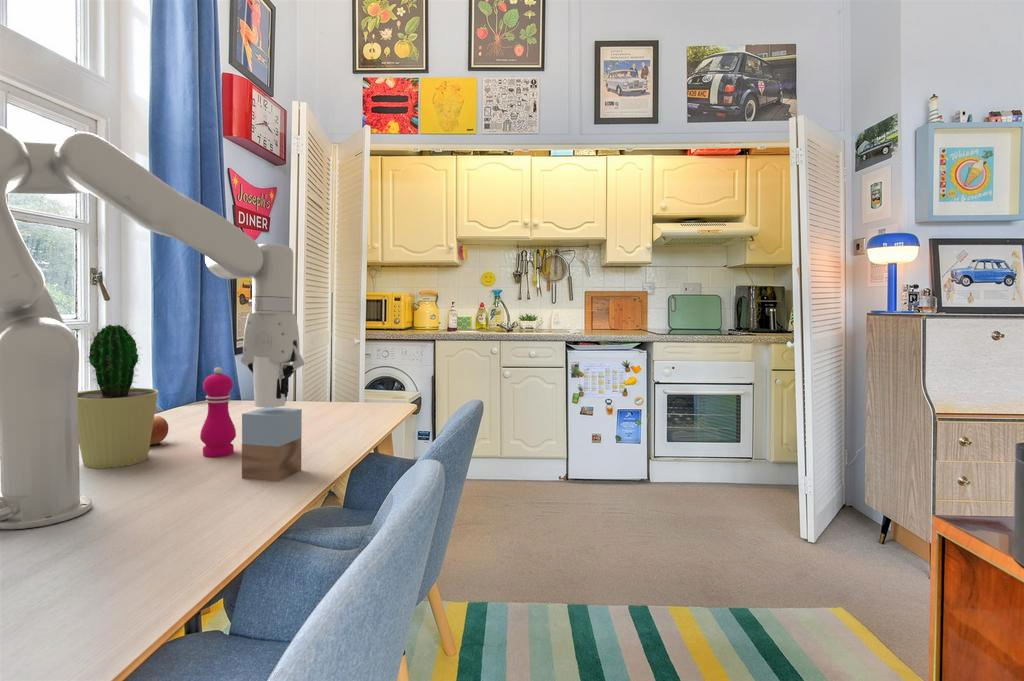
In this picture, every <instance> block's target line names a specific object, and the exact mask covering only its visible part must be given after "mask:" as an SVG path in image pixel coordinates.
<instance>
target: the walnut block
mask: <svg viewBox="0 0 1024 681" xmlns="http://www.w3.org/2000/svg"><path fill="white" fill-rule="evenodd" d="M301 471H302V438H299V439H297V440H294V441H292V442H289V443H287V444H284V445H282V446H279V447H275V446H263V445H250V444H242V443H241V479H243V480H244V479H245V480H252V481H253V480H255V481H264V480H265V482H274V481H275V483H276V482H278V483H279V482H281V481H283V480H285V479H287V478H288V477H291V476H293V475H295V474H297V473H299V472H301Z"/></svg>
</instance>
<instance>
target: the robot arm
mask: <svg viewBox="0 0 1024 681" xmlns="http://www.w3.org/2000/svg"><path fill="white" fill-rule="evenodd" d="M88 193H89V194H92V195H93V196H95V197H96V198H97V199H99V200H102V201H103V202H104V203H106V204H107V205H109V206H110V207H112V208H113V209H115V210H116V211H118V212H119V213H121V214H123V215H124V216H125V217H127V218H128V219H130V220H131V221H133V222H134V223H135V224H137V225H139V226H140V227H142V228H144V229H146V230H147V231H148V230H149V231H151V232H152V233H154V234H158V235H161V236H165V237H170V238H172V239H175V240H177V241H178V242H181V243H184V244H185V245H187V246H189V247H191V248H193V249H194V250H196V251H197V252H199V253H201V254H202V255H204V261H205V264H206V267H207V269H208V270H209V272H210V273H212V274H213V275H214V276H216V277H217V278H221V279H226V280H237V279H251V280H252V281H251V282H252V283H251V284H252V286H251V287H252V288H251V290H252V293H251V294H252V297H251V299H249V300H248V302H247V304H248V307H251V312H248V314H247V317H246V321H245V326H244V331H243V332H244V333H243V339H242V340H243V341H242V342H243V345H242V356H241V359H240V362H241V364H243V365H244V366H246V367H247V368H248V369H249V370H250V372H251V373H252V374H253V362H254V356H255V357H269V362H271V363H273V364H280V368H279V374H280V377H279V379H281V390H280V382H279V379H277V393H276V398H277V399H280V398H281V394H285V396H284V397H286V398H287V397H288V393H289V382H290V381H289V378H291V377H292V375H293V374H294V373H295V371H297V370H298V369H300V368H301V367H303V366H305V361H304V359H303V357H302V355H301V354H300V333H299V326H298V320H297V316H296V314H295V313H294V251H293V249H292V247H290V246H287V245H285V244H278V243H259V244H258V242H256V241H255V240H254V239H253V238H252V237H251V236H250V235H248V234H247V233H246V232H245V231H243V230H241V229H240V228H239V227H237V225H235V224H233V223H232V222H231V221H229V220H228V219H226V218H225V217H224V216H222V215H220V214H218V213H217V212H216V211H214V210H212V209H210V208H208V207H206V206H205V205H203V204H201V203H200V202H198V201H196V200H194V199H192V198H191V197H190V196H187V195H186V194H183V193H181V192H179V191H178V190H176V189H175V188H174V187H171V186H170V185H168V184H167V183H166V182H165V181H163V180H162V179H161V178H159V177H158V176H156V175H155V174H154V173H153V172H151V171H149V170H148V169H147V168H146V167H144V166H142V165H141V164H140V163H138V162H137V161H136V160H134V159H133V158H131V157H130V156H128V154H126V153H125V152H123V151H122V150H120V149H119V148H117V147H116V146H115V145H114V144H112V143H111V142H109V141H107V140H106V139H105V138H103V137H101V136H99V135H97V134H94V133H91V132H87V131H76V132H72V133H70V134H68V135H65V136H64V137H63V138H61V140H60V141H59V142H33V141H22V140H21V139H20V138H19V137H18V136H17V134H15V133H13V132H12V131H11V130H9V129H7V128H5V127H4V126H1V125H0V529H1V530H21V529H31V528H38V527H39V528H40V527H44V526H49V525H53V524H58V523H61V522H66V521H68V520H71V519H74V518H77V517H79V516H81V515H83V514H85V513H86V512H88V511H89V510H90V509H92V506H93V502H92V498H91V497H89V496H86V495H82V494H81V488H80V486H81V484H80V480H81V478H80V445H79V420H78V393H79V371H80V370H79V366H80V349H79V344H78V339H77V338H76V336H75V333H73V331H72V330H71V329H70V328H69V327H68V326H66V324H65V322H64V320H63V317H62V316H61V314H60V312H59V310H58V308H57V306H56V304H55V302H54V300H53V298H52V295H51V293H50V291H49V289H48V287H47V285H46V280H45V275H44V273H43V271H42V269H41V268H40V267H39V265H38V264H37V263H36V261H35V260H34V258H33V256H32V254H31V252H30V250H29V248H28V247H27V245H26V243H25V241H24V238H23V236H22V235H21V233H20V230H19V228H18V225H17V222H16V220H15V218H14V216H13V214H12V212H11V210H10V207H9V205H8V201H7V200H8V199H7V195H37V194H38V195H68V194H69V195H72V194H74V195H75V194H88ZM287 361H288V362H287ZM284 365H287V367H286V368H285V369H284Z"/></svg>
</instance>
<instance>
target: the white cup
mask: <svg viewBox="0 0 1024 681" xmlns="http://www.w3.org/2000/svg"><path fill="white" fill-rule="evenodd" d="M287 362H288V361H287ZM286 367H287V365H284V369H285V368H286ZM279 368H280V364H273V363H271V362H269V357H255V356H254V362H253V373H252V376H253V401H254V402H253V403H254V407H256V408H267V407H275V408H281V407H285V406H286V398H287V397H284V396H285V394H281V398H280V399H277V398H276V393H277V379H279V377H280V374H279ZM279 382H280V390H281V379H279Z"/></svg>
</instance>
